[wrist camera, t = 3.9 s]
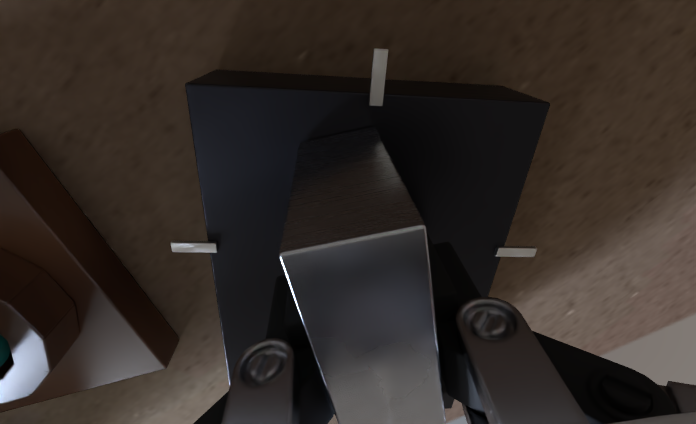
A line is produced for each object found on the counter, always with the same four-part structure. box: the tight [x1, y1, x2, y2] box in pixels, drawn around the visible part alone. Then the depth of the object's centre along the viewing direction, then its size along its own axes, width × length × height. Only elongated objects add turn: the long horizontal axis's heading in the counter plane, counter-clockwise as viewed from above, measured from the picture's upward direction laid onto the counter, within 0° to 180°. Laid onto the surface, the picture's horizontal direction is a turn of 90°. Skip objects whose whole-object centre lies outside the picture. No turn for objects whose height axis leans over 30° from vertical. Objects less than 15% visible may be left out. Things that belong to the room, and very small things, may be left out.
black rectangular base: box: [171, 48, 550, 409], centre depth 14 cm, size 15×12×3 cm
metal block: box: [279, 127, 446, 424], centre depth 9 cm, size 8×2×6 cm, turn 11°
